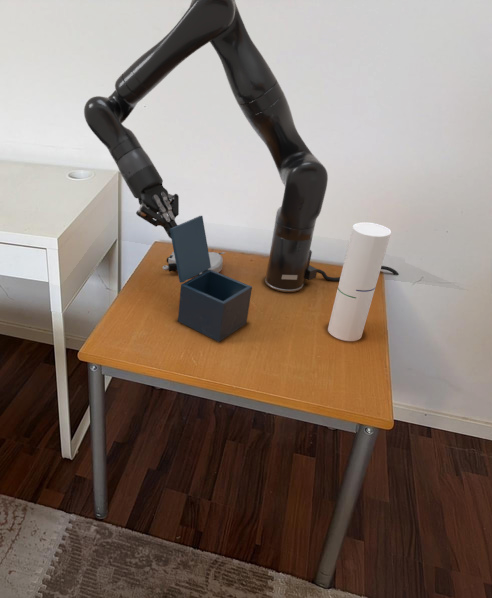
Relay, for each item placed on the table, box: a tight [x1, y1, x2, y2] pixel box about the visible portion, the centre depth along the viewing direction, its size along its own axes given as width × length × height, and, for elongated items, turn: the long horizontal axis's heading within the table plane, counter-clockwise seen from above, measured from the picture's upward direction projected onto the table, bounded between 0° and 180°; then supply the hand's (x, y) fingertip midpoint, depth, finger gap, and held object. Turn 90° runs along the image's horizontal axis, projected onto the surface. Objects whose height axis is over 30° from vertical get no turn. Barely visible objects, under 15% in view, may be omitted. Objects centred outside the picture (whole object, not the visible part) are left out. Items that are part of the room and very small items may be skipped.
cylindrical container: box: [327, 221, 392, 342], centre depth 122 cm, size 7×7×25 cm
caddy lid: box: [170, 215, 211, 284], centre depth 129 cm, size 12×11×1 cm
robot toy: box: [162, 251, 226, 277], centre depth 153 cm, size 12×4×15 cm
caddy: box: [177, 269, 253, 343], centre depth 129 cm, size 12×11×10 cm
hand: (177, 237), depth 131 cm, fingers closed
